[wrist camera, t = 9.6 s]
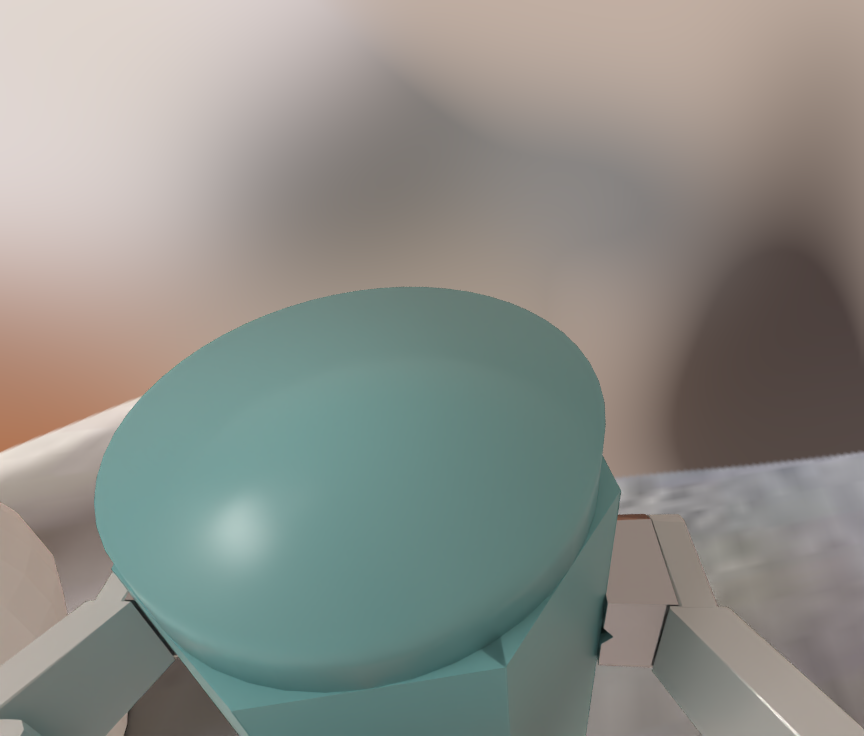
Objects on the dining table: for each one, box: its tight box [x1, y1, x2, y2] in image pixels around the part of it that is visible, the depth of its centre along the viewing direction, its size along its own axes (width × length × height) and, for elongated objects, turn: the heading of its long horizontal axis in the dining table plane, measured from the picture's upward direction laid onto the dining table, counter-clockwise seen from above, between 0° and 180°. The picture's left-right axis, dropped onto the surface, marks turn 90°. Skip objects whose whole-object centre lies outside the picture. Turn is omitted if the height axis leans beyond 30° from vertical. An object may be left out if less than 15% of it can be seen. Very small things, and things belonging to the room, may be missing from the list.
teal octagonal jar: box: [94, 287, 621, 736], centre depth 9 cm, size 6×6×9 cm
